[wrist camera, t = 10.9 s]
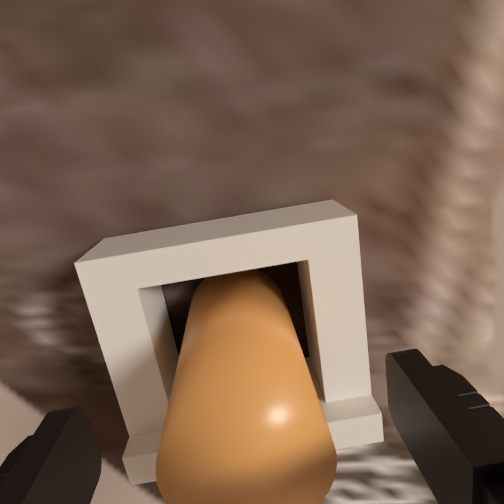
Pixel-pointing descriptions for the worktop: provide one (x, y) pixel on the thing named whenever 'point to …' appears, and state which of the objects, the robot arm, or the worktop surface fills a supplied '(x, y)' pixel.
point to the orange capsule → (243, 403)
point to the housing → (222, 262)
